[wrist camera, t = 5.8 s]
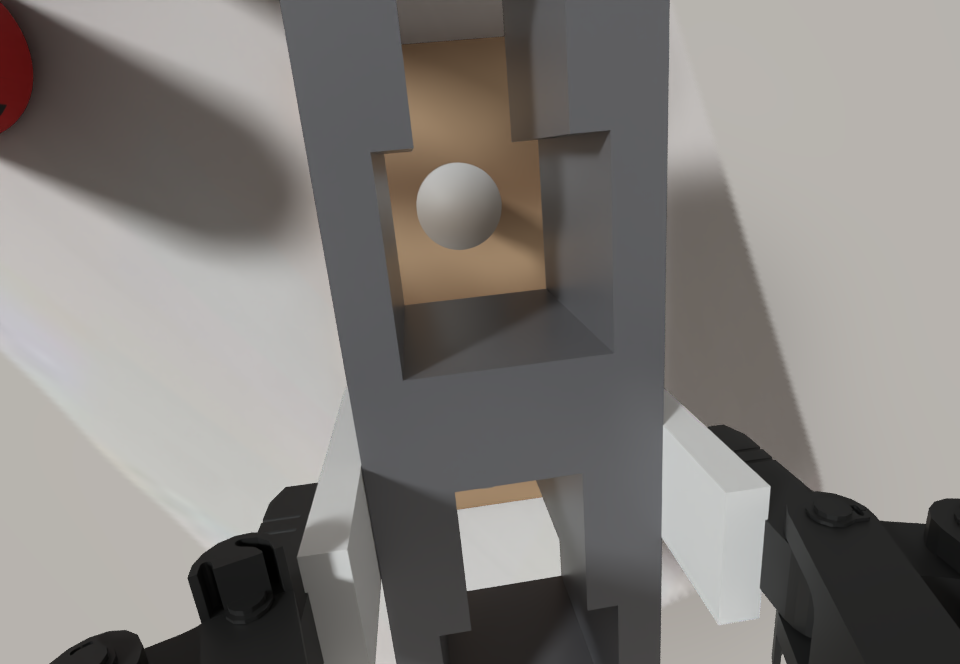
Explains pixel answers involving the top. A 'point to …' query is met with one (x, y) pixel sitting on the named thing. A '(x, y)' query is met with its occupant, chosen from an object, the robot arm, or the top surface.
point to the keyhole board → (483, 142)
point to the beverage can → (13, 70)
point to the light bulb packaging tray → (507, 331)
